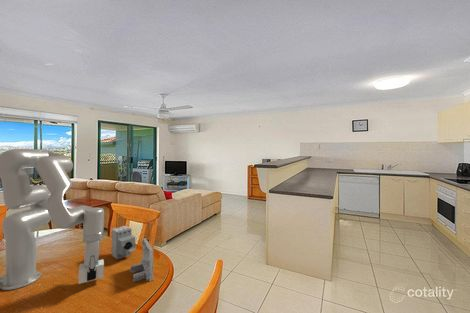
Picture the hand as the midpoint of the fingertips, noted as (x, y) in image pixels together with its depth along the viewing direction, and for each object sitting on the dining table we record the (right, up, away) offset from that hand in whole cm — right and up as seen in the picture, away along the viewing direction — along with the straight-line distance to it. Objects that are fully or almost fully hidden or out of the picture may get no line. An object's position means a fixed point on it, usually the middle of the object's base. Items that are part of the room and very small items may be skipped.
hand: (91, 275), depth 91 cm
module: (0, -1, 0) cm, 1 cm away
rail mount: (+19, -4, +7) cm, 20 cm away
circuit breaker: (+1, -3, +24) cm, 25 cm away
